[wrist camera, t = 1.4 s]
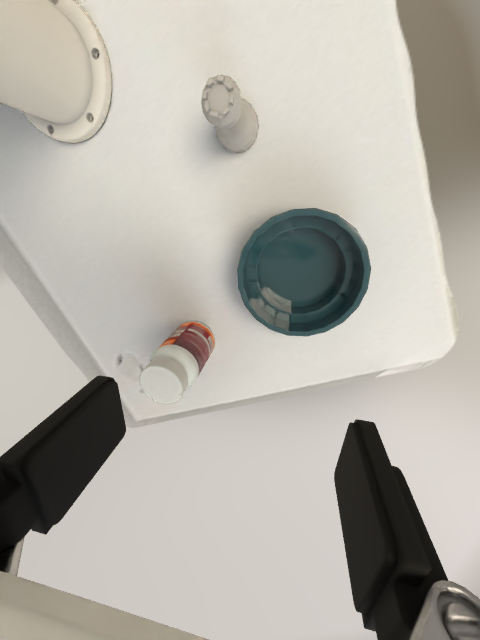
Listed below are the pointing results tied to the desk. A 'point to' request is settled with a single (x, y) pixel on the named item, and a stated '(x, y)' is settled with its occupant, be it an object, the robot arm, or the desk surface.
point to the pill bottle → (177, 362)
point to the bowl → (303, 272)
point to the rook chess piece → (229, 114)
